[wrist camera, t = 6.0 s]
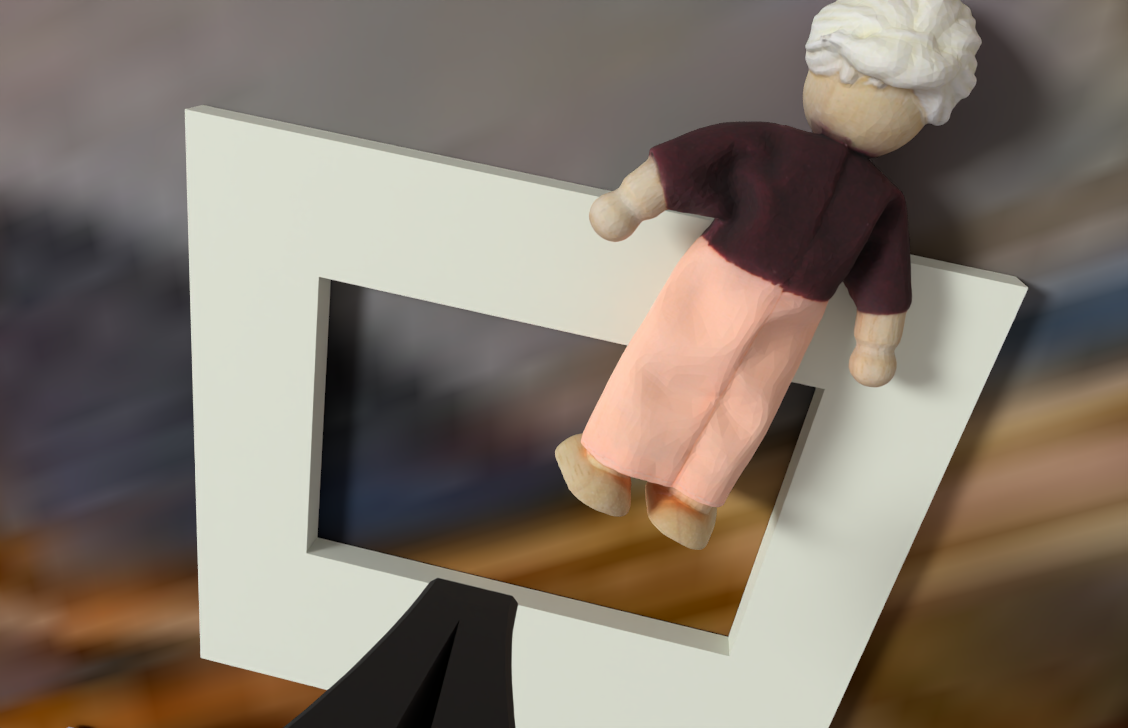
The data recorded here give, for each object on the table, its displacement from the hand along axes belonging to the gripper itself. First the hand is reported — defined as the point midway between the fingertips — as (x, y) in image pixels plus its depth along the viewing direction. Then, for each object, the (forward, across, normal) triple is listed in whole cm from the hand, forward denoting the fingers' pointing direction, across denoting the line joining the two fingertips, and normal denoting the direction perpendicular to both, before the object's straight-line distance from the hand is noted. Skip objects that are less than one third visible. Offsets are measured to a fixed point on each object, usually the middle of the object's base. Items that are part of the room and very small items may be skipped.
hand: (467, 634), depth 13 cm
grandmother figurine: (+7, -2, +2) cm, 8 cm away
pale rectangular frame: (+10, 0, +3) cm, 10 cm away
